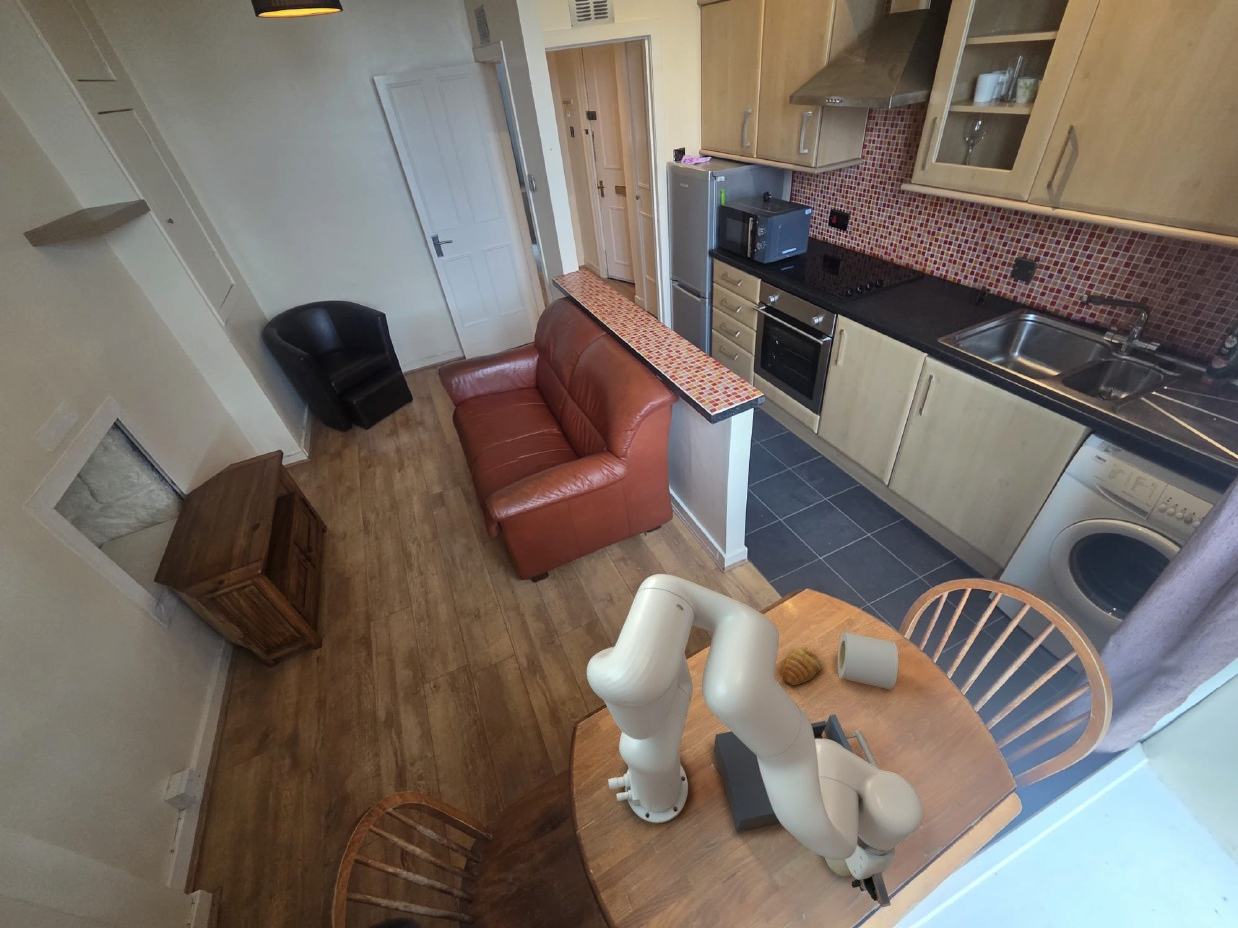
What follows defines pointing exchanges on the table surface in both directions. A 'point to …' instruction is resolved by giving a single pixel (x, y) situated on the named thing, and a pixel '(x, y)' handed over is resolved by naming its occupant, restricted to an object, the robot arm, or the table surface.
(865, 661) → the toilet paper
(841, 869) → the paper roll
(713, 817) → the table surface
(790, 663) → the pastry
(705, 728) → the table surface
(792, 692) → the table surface
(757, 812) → the cabinet
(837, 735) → the drawer
